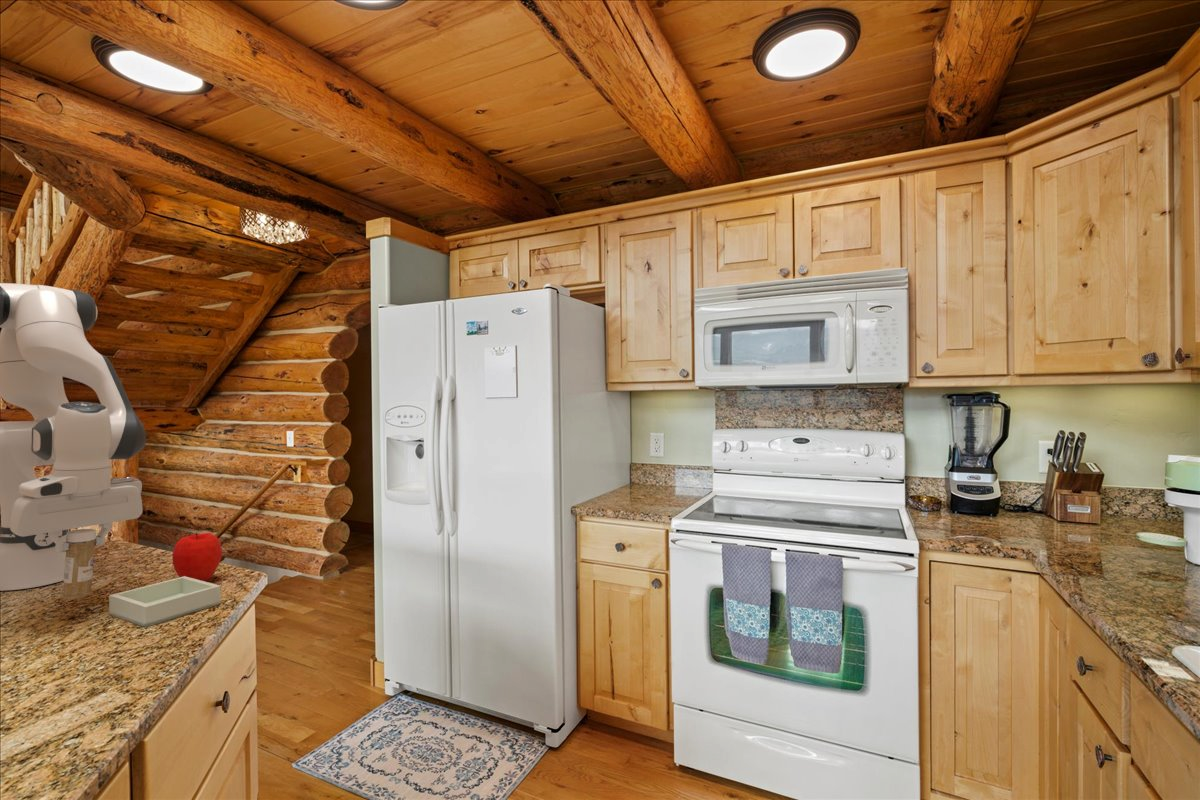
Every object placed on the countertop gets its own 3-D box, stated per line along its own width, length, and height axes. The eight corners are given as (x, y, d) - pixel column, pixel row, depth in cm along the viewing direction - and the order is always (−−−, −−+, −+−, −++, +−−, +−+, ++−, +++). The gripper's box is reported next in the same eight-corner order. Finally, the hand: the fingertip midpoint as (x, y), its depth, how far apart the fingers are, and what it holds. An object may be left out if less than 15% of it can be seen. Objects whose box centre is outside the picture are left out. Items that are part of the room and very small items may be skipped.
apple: (204, 573, 142) (204, 526, 142) (231, 578, 139) (232, 529, 139) (162, 585, 133) (162, 534, 133) (190, 591, 129) (190, 538, 129)
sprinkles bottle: (90, 597, 114) (95, 531, 114) (60, 601, 111) (65, 534, 111) (92, 590, 117) (97, 527, 118) (62, 594, 115) (67, 529, 115)
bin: (109, 614, 115) (109, 595, 115) (184, 593, 128) (184, 576, 128) (145, 627, 109) (145, 607, 109) (220, 604, 121) (220, 585, 121)
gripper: (134, 473, 125) (132, 534, 125) (7, 486, 107) (5, 557, 107) (149, 476, 122) (147, 539, 122) (21, 490, 104) (20, 563, 104)
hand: (80, 548), depth 115 cm, fingers closed on sprinkles bottle, 4 cm apart
